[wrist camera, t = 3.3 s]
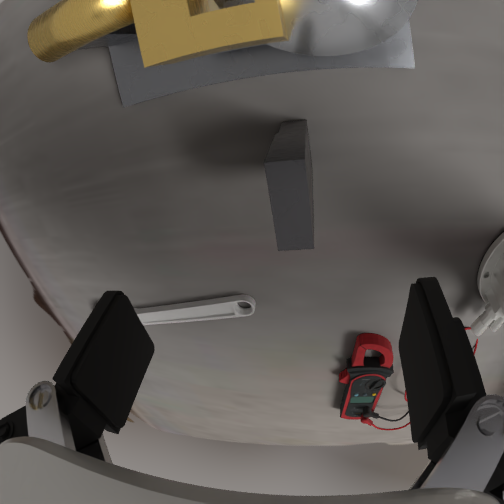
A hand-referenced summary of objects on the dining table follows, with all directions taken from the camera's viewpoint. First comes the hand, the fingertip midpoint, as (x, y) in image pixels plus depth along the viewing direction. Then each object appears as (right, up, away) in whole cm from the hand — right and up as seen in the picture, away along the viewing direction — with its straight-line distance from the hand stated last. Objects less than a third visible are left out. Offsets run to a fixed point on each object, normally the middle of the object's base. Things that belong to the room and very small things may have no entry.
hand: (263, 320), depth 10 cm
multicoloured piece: (-1, +23, +9) cm, 24 cm away
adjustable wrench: (-12, -6, +32) cm, 35 cm away
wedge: (+4, +11, +16) cm, 20 cm away
